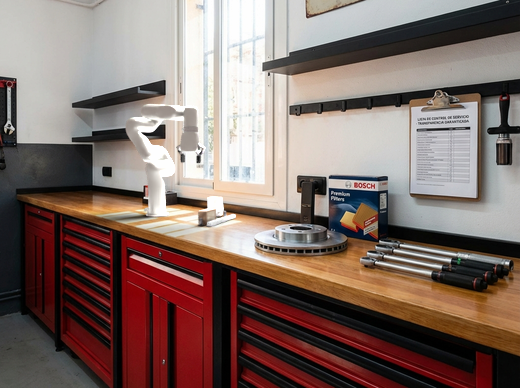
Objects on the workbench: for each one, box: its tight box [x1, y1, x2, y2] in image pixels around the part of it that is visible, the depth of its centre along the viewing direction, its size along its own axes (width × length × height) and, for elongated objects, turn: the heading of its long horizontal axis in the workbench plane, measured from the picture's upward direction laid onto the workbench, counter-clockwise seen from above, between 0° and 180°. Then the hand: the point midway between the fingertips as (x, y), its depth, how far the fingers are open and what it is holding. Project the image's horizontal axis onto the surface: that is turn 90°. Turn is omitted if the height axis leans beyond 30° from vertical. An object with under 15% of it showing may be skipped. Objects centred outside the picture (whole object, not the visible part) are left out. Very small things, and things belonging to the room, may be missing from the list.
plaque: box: [197, 207, 217, 226], centre depth 207 cm, size 4×10×7 cm, turn 158°
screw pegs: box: [198, 210, 227, 227], centre depth 213 cm, size 2×28×4 cm, turn 158°
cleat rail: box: [206, 213, 237, 227], centre depth 211 cm, size 2×28×2 cm, turn 158°
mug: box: [207, 196, 225, 218], centre depth 231 cm, size 12×8×10 cm
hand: (190, 162), depth 217 cm, fingers open, 9 cm apart
